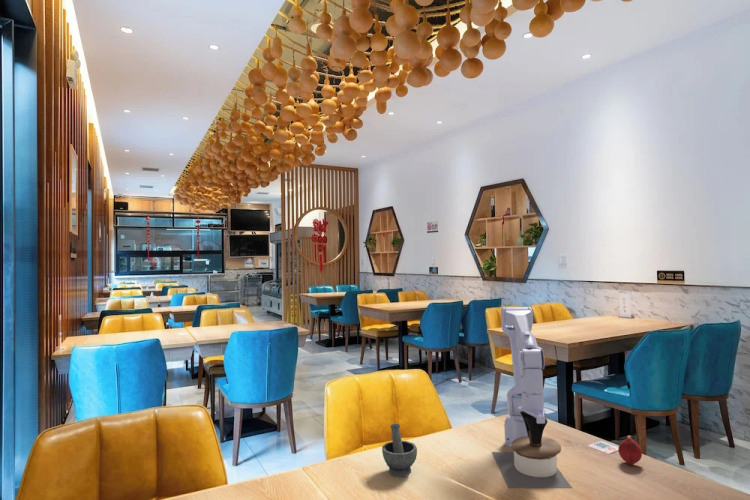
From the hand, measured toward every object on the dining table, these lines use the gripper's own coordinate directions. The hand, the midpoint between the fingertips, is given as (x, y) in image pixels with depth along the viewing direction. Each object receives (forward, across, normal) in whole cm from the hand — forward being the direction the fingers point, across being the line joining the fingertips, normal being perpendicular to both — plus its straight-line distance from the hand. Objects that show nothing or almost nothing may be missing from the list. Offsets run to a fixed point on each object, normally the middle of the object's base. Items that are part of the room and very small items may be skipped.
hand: (534, 440), depth 126 cm
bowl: (+8, 0, 0) cm, 8 cm away
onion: (+8, -3, +27) cm, 29 cm away
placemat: (+8, 0, -2) cm, 8 cm away
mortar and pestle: (+8, 0, -38) cm, 39 cm away
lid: (+2, 0, 0) cm, 2 cm away
